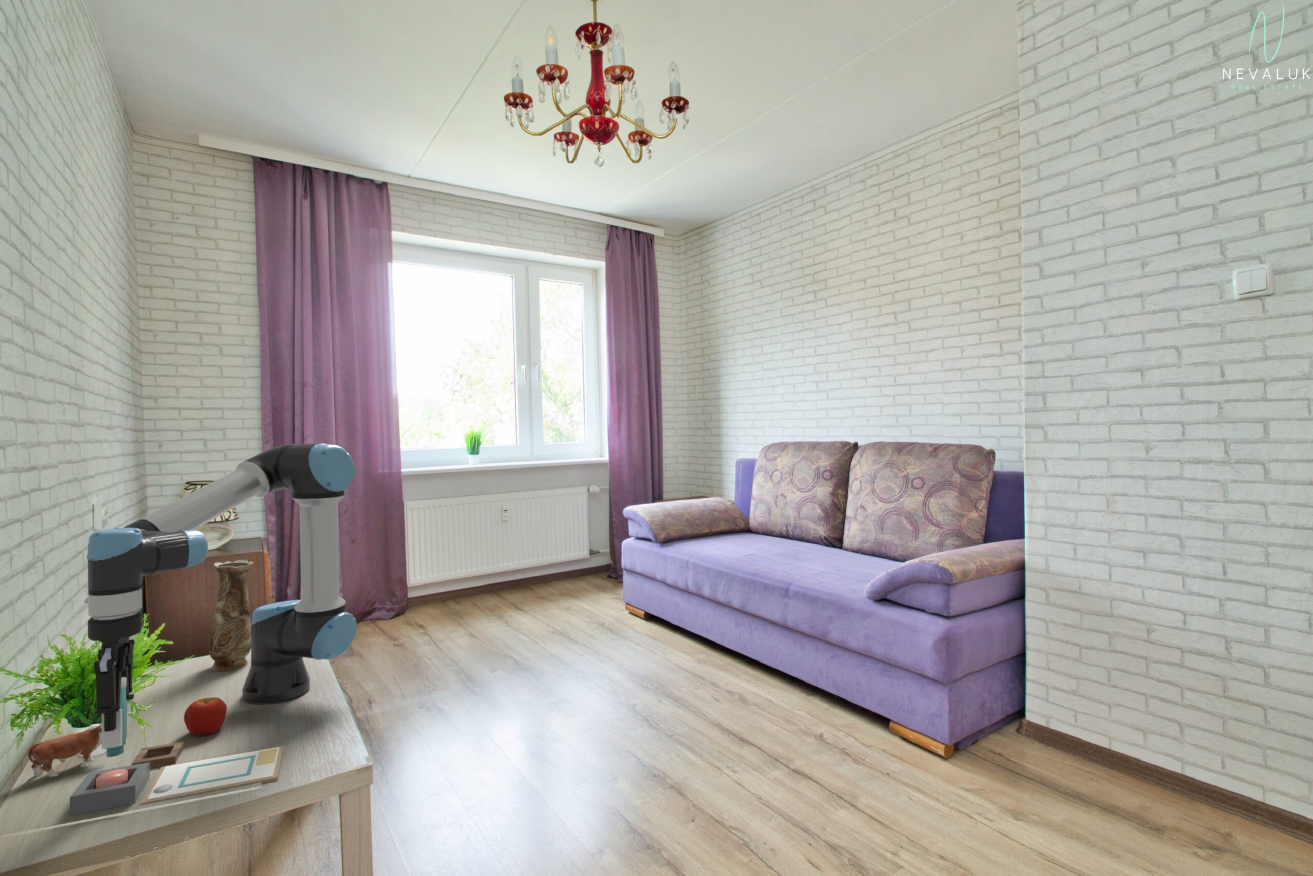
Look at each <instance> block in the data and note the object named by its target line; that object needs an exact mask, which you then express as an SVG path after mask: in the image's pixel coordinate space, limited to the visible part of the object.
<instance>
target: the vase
mask: <svg viewBox="0 0 1313 876" xmlns="http://www.w3.org/2000/svg"><path fill="white" fill-rule="evenodd" d="M253 565H254V562H253V561H252V560H251V561H248V560H247V559H238V560H237V559H236V560H235V561H232V562H231V561H229V560H227V561H225V562H214V563H213V566H214V569H215V570H216V572H217V573H218V576H219V579H218V581H219V582H218V591H217V597H216V602H215V607H214V613H213V617H212V618H213V619H212V622H211V623H212V624H211V628H210V633H209V641H208V651H209V656H210V658H211V660H212V661H214V662H213V665H212V666H211V670H212V671H215V672H228V671H234V670H238V669H241V668H245V667H246V666H247V665H248V664H249V663H248V661H247V656H248V655H249V654H250V653H251V623H252V616H251V611H250V602H249V601H250V600H249V590H248V573H249V571H250V569H251V568H252V566H253Z"/></svg>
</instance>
